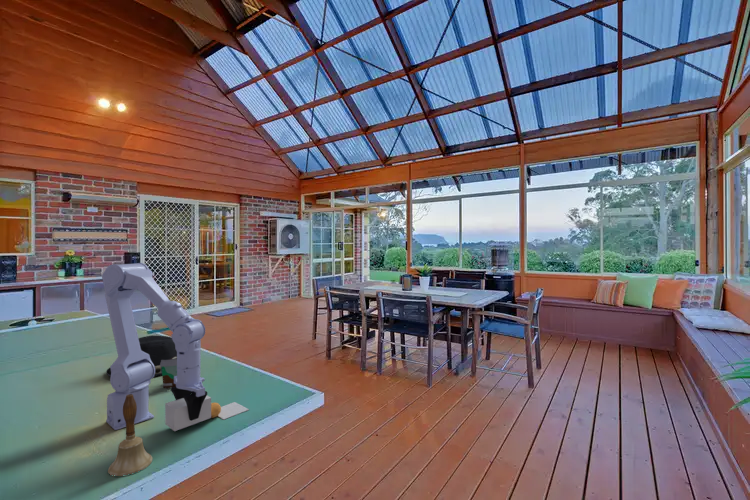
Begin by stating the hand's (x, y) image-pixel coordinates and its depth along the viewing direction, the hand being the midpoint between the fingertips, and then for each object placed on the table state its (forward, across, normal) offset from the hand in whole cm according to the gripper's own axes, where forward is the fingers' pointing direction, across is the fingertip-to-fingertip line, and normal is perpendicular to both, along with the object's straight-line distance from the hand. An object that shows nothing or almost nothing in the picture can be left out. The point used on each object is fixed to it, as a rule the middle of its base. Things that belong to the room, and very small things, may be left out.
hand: (188, 415), depth 98 cm
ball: (+1, 0, -7) cm, 7 cm away
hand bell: (+3, -8, +16) cm, 18 cm away
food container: (+3, +33, -12) cm, 35 cm away
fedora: (+3, +58, -10) cm, 59 cm away
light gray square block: (+3, 0, -12) cm, 12 cm away
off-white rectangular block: (+2, 0, 0) cm, 2 cm away
